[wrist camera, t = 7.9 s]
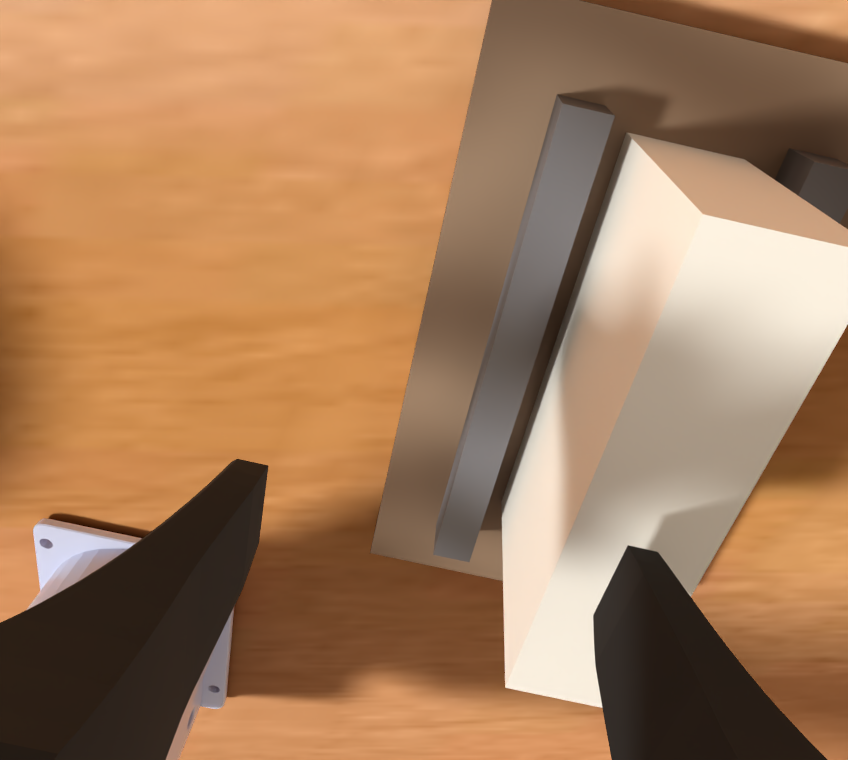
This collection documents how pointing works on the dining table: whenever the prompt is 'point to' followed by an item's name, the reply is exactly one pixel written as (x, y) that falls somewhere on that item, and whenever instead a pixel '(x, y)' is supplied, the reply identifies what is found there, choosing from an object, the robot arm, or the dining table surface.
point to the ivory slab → (661, 391)
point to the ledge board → (567, 228)
